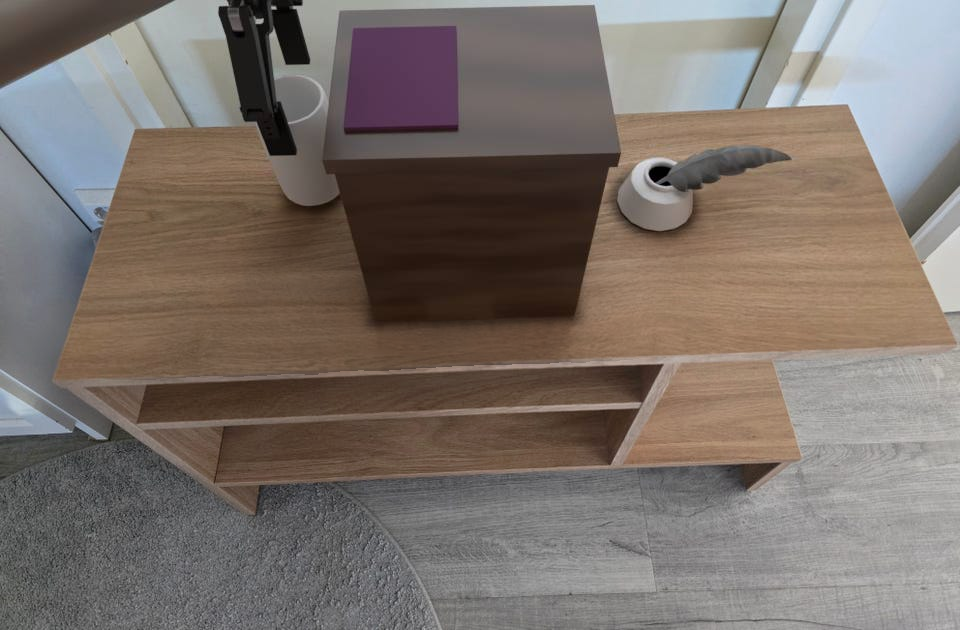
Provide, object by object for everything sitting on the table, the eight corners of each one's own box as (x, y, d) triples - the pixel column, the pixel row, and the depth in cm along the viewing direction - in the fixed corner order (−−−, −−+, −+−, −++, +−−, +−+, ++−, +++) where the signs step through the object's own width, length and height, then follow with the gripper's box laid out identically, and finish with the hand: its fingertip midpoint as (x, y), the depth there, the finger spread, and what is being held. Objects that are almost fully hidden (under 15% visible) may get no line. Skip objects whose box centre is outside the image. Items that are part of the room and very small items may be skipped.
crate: (579, 320, 75) (621, 153, 52) (370, 326, 75) (322, 160, 52) (564, 193, 84) (594, 4, 61) (378, 198, 84) (339, 10, 61)
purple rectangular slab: (458, 128, 54) (458, 124, 53) (344, 131, 54) (343, 127, 53) (456, 29, 60) (456, 25, 59) (353, 31, 60) (353, 27, 59)
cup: (297, 156, 87) (267, 65, 75) (359, 169, 86) (339, 78, 74) (270, 206, 83) (234, 119, 71) (335, 220, 82) (309, 134, 70)
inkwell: (613, 173, 85) (628, 112, 77) (756, 174, 85) (787, 113, 77) (620, 232, 81) (636, 175, 72) (772, 233, 81) (806, 175, 72)
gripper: (250, 2, 49) (314, 195, 67) (290, -176, 61) (335, 28, 79) (144, 4, 49) (238, 196, 67) (206, -174, 61) (271, 29, 79)
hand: (291, 105), depth 73 cm, fingers open, 13 cm apart
